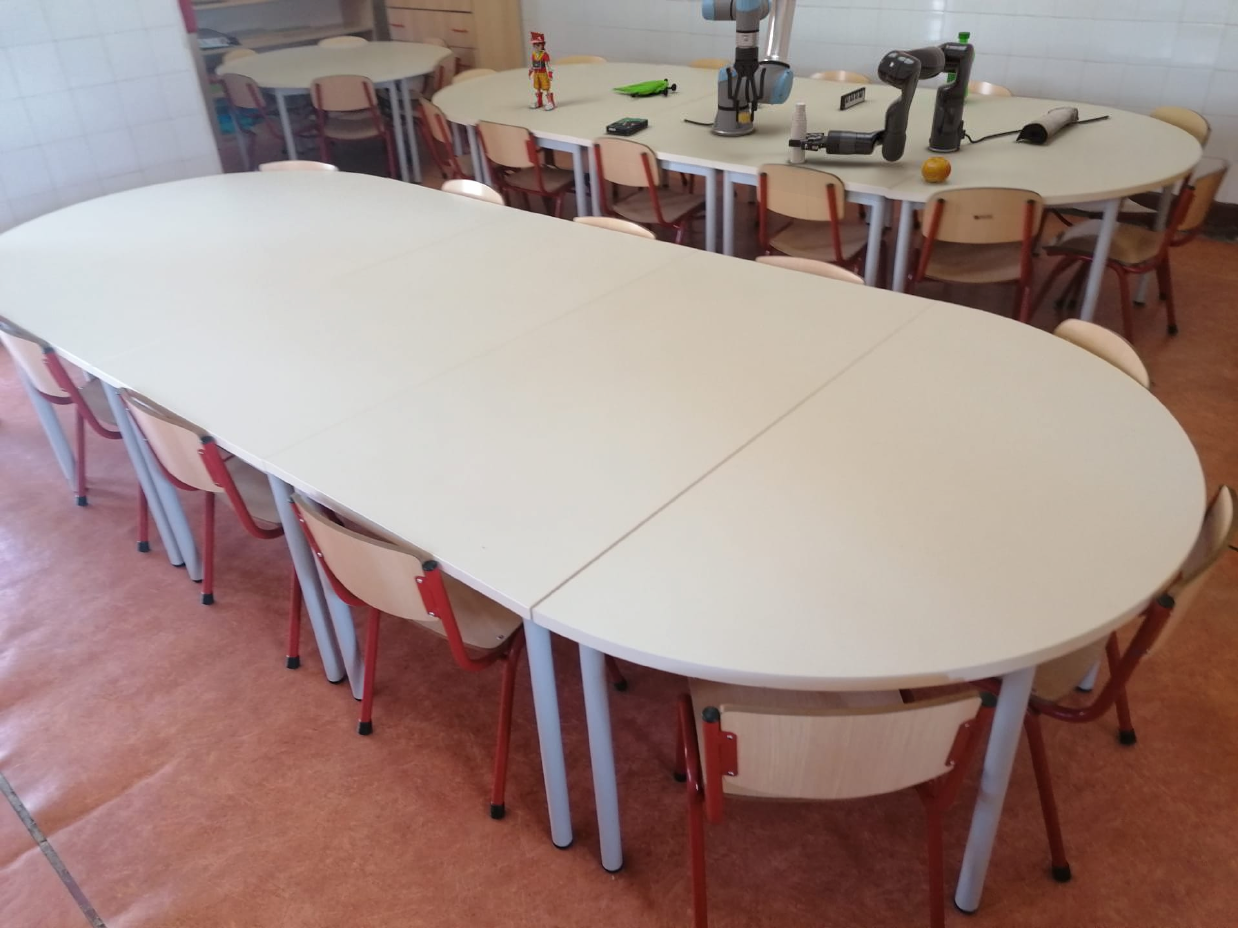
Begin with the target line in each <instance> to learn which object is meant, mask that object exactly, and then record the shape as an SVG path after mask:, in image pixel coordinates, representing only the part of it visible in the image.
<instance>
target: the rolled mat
mask: <svg viewBox="0 0 1238 928" xmlns="http://www.w3.org/2000/svg"><path fill="white" fill-rule="evenodd" d="M1077 121H1080V117H1079V109H1078V108H1077V107H1071V106H1063V107H1058V108H1052V109H1049V111H1048V112H1047V113H1046V114H1044V115H1042V116H1040V117H1038V118H1036V119H1034V120H1032V121H1030V122H1029V123H1028V124H1025V125H1023V127H1022V128H1021V129H1022V130H1021V129H1020V130H1021V132H1019V134H1018V136H1017V138H1016V139H1015V142H1019V141H1021V140H1026V141H1028V142H1029V143H1031V144H1036V145H1044V144H1045V143H1046V142H1047V141H1049V140H1050V139H1051V138H1052V136H1054V134H1056V132H1058V131H1059V130H1060V129H1062V128H1063V127H1064V125H1065V124H1071V123H1075V122H1077ZM1065 126H1066V125H1065Z"/></svg>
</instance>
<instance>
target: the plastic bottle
mask: <svg viewBox="0 0 1238 928" xmlns="http://www.w3.org/2000/svg"><path fill="white" fill-rule="evenodd" d="M970 36H971V32H970V31H959V32H958V36H957V39H958V42H959V43H968V41H969V39H970V38H971V37H970ZM975 57H976V51H975V49H974V59H973V62H974V61H975ZM946 77H947V78H946V83H950V82H952V81H954V80H955V78H956V74H950V73H947V76H946ZM968 95H969V86H968V87H967V91H966V97H965V99H966V98H967V96H968Z"/></svg>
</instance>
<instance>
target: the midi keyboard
mask: <svg viewBox="0 0 1238 928" xmlns="http://www.w3.org/2000/svg"><path fill="white" fill-rule="evenodd" d="M866 90H867V89H866V87H865V86H863V87H860V88H857V89H855V90H852V91H850V92H848V93H845V94H843V95H841V96H840V102H839V110H840V111H841V110H845V109H847V108H849V107H851V106H854V105H856V104H858V103H861V102H863V101H865V99H866Z"/></svg>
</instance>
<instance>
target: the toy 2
mask: <svg viewBox="0 0 1238 928" xmlns="http://www.w3.org/2000/svg"><path fill="white" fill-rule="evenodd" d="M669 85H670V83H669V79H668V78H664V79H663V80H649V81H644V82H640V83H634V84H629V85H627V86H621V87H613V88H612V89H613V90H616V91H619V92H623V93H627V94H628V93H629V94H631V95H630V96H631V98H632V99H634V98H636V96H637V95H650V94H652V93H654V94H658V93H662V95H663V96H665V97H667V96H668V95H669V90H671V91H672V92H676V91H677V84H676V83H672V84H671V86H669Z"/></svg>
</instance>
